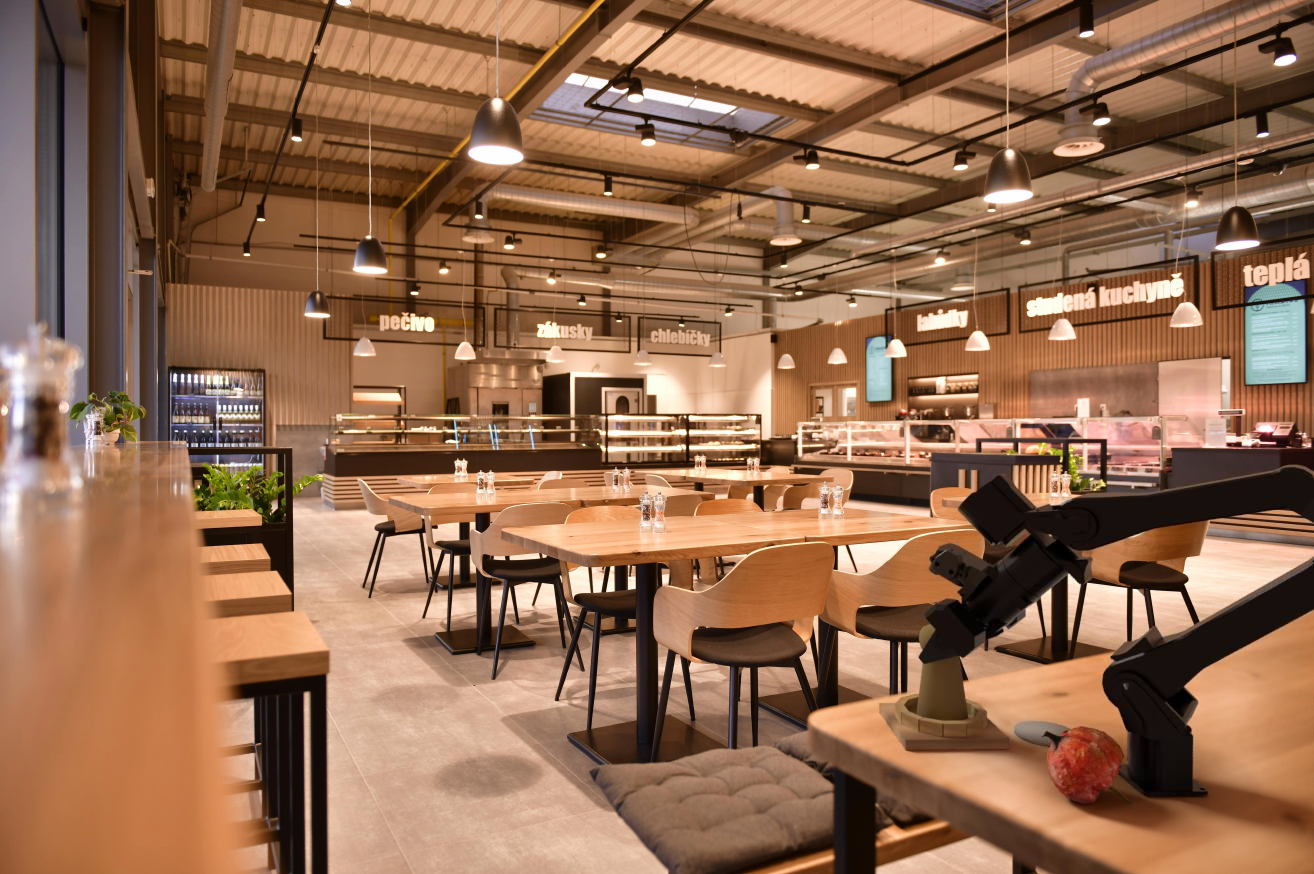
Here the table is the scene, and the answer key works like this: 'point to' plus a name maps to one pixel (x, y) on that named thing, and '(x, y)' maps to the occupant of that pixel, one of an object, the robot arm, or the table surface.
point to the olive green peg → (941, 686)
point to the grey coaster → (1038, 731)
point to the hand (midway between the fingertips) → (930, 655)
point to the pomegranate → (1083, 763)
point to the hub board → (942, 742)
